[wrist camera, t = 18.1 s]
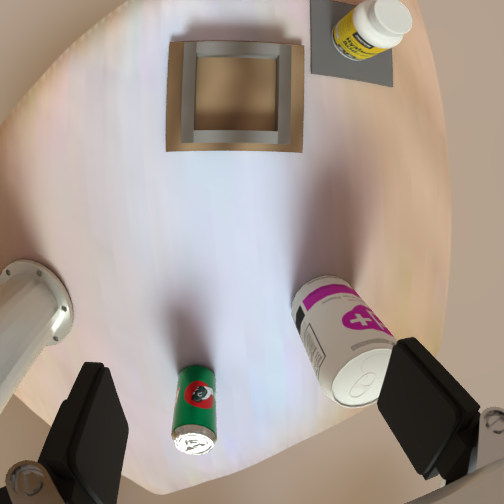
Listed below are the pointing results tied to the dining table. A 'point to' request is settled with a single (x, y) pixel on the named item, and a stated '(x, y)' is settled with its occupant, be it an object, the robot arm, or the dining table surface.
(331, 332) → the supplement can
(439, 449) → the robot arm
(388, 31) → the supplement bottle
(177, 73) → the block
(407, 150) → the dining table surface
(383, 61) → the mat
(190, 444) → the soda can
